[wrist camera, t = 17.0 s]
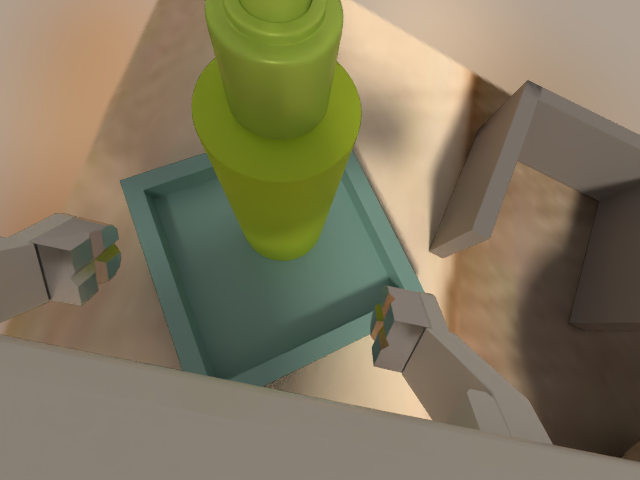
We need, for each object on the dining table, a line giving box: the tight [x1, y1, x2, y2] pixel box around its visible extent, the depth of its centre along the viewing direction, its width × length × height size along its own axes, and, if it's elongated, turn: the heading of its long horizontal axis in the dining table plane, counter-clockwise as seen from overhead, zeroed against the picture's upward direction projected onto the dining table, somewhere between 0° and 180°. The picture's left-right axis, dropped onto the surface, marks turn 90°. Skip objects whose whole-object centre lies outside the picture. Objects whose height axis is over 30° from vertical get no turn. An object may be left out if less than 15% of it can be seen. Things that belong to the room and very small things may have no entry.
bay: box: [429, 80, 640, 331], centre depth 24 cm, size 13×13×6 cm
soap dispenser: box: [192, 0, 361, 261], centre depth 14 cm, size 6×7×20 cm
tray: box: [120, 150, 425, 387], centre depth 23 cm, size 16×16×2 cm
